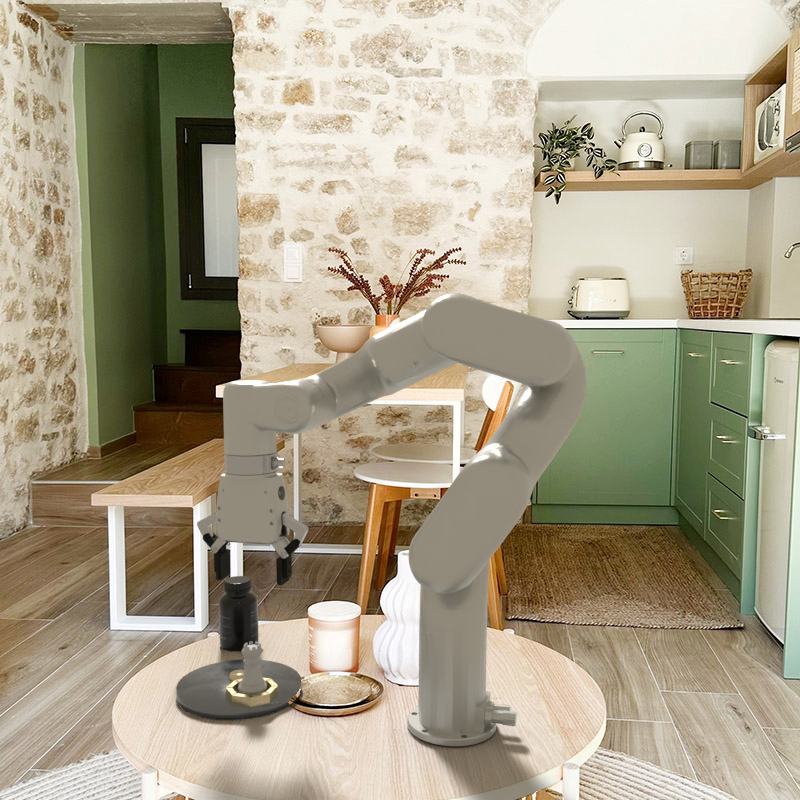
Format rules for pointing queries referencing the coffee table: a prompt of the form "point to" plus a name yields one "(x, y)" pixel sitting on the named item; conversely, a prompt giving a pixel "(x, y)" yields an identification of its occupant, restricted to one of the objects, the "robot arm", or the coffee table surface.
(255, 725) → the coffee table surface
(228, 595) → the supplement bottle
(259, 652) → the rook chess piece
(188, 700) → the carrier plate
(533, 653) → the coffee table surface
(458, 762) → the coffee table surface
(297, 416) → the robot arm
